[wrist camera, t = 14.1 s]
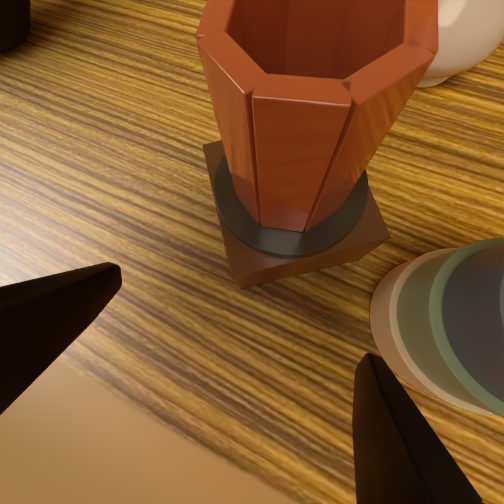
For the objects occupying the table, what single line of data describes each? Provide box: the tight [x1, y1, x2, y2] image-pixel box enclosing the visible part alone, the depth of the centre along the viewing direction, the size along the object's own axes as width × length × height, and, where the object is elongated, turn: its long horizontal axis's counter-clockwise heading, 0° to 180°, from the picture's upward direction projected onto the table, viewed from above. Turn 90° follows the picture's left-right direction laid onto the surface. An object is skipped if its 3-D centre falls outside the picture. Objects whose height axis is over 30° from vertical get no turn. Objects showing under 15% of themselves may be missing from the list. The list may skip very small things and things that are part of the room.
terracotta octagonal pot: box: [196, 0, 439, 232], centre depth 10 cm, size 6×6×8 cm
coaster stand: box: [203, 140, 391, 289], centre depth 17 cm, size 9×9×6 cm
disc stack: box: [369, 238, 504, 418], centre depth 12 cm, size 9×9×9 cm
